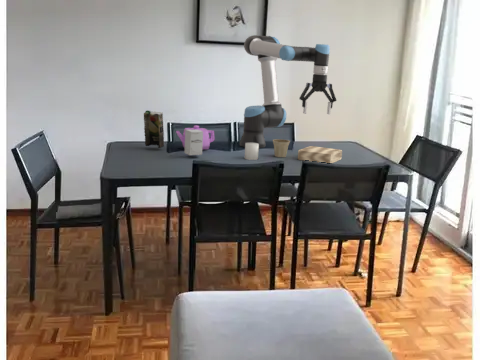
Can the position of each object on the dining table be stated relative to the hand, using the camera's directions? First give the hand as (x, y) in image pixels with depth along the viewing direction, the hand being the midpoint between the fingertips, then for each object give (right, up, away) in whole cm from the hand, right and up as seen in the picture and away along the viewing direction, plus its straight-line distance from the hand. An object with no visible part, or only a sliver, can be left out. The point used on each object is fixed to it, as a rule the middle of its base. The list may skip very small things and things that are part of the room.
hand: (316, 114), depth 309 cm
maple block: (+1, -25, -3) cm, 25 cm away
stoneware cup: (-36, -25, -12) cm, 45 cm away
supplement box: (-66, -22, -7) cm, 70 cm away
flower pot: (-20, -23, -1) cm, 30 cm away
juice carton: (-89, -17, +8) cm, 91 cm away
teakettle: (-67, -18, +12) cm, 70 cm away
